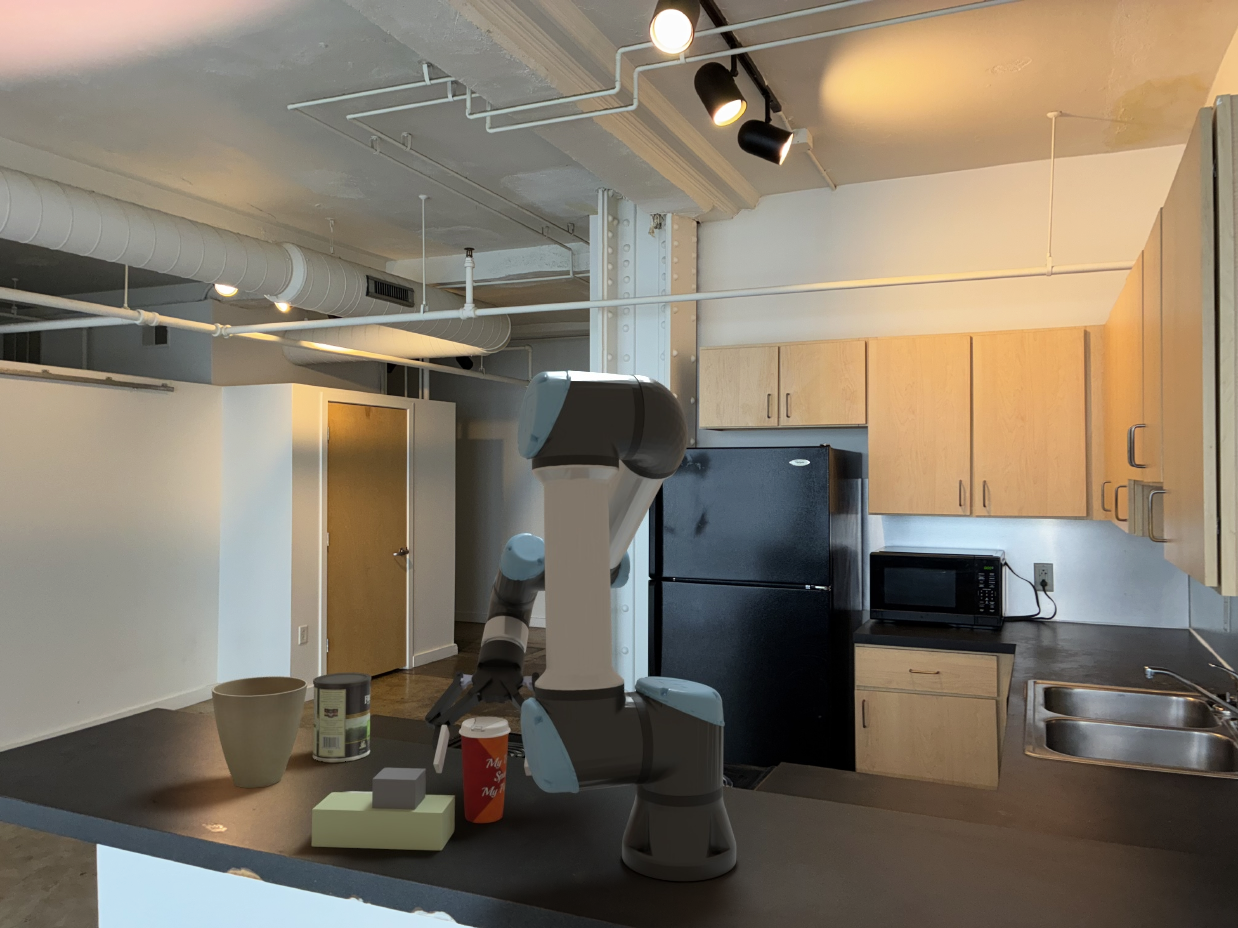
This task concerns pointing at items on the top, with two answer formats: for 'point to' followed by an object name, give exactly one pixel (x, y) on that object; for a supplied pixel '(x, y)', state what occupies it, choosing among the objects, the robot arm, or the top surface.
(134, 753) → the top surface
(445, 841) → the green block with cube
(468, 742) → the paper cup
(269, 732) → the plant pot
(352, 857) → the top surface
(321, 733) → the coffee can
